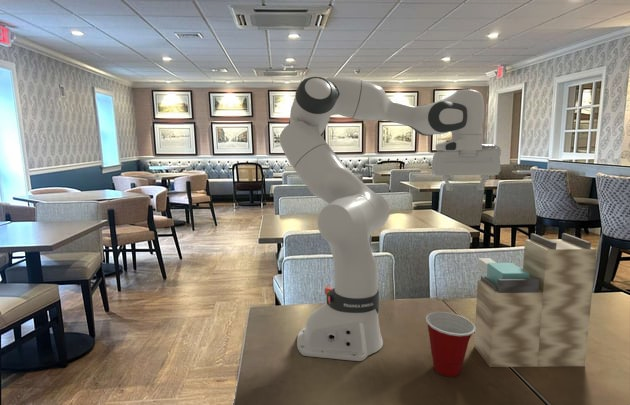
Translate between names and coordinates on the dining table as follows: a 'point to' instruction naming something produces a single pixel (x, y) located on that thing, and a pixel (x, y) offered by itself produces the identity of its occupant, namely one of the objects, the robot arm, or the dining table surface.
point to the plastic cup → (448, 341)
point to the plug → (501, 270)
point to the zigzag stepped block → (539, 307)
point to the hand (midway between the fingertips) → (464, 189)
